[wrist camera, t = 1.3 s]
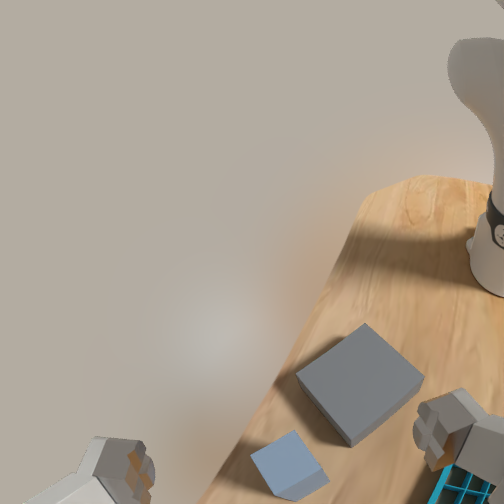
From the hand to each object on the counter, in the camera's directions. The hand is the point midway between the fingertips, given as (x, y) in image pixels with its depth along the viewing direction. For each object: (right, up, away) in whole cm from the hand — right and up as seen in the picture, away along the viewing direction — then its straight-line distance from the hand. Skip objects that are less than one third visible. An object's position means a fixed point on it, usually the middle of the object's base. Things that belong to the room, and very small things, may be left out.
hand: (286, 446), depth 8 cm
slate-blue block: (+5, -23, +25) cm, 34 cm away
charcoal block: (+14, -14, +32) cm, 38 cm away
